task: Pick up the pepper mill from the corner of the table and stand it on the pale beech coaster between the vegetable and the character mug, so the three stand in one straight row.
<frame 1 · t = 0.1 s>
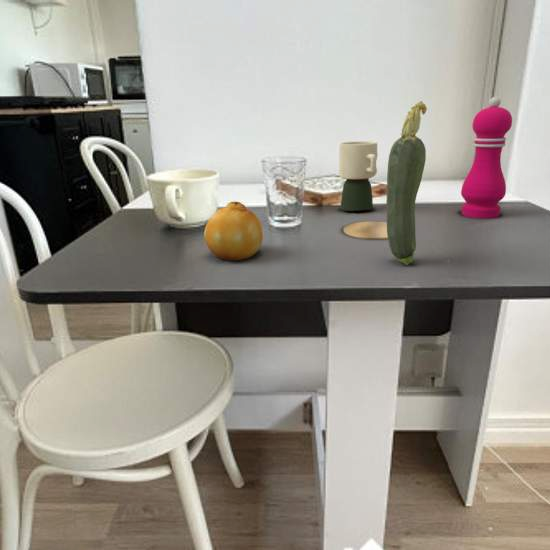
pepper mill: (479, 216, 80), on the table
character mug: (356, 212, 87), on the table
coaster: (374, 231, 72), on the table
fruit: (235, 257, 64), on the table
vegetable: (399, 264, 58), on the table
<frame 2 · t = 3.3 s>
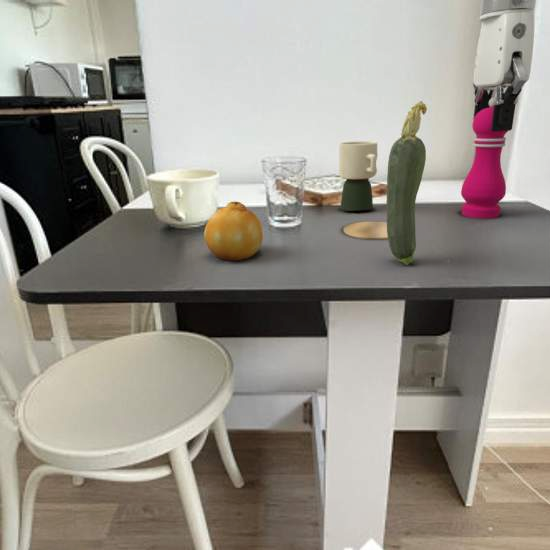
hand: (491, 128, 74), 15 cm above the table, tool pointing down, fingers closed on pepper mill, 6 cm apart
pepper mill: (479, 216, 80), on the table, touching gripper
everything else where it was.
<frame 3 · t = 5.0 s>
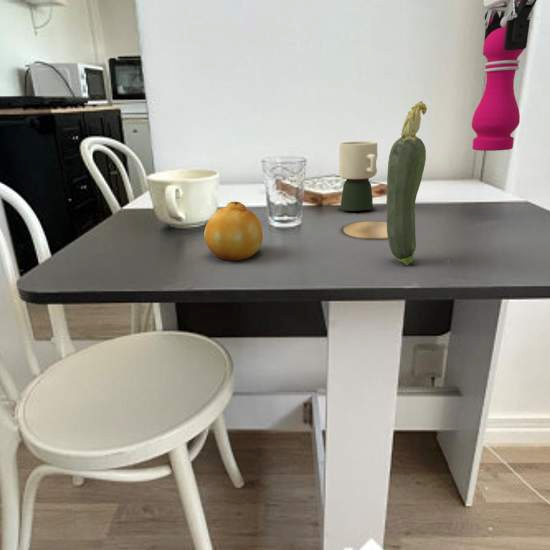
hand: (503, 51, 70), 27 cm above the table, tool pointing down, fingers closed on pepper mill, 6 cm apart
pepper mill: (491, 150, 75), point 11 cm above the table, touching gripper
everything else where it was.
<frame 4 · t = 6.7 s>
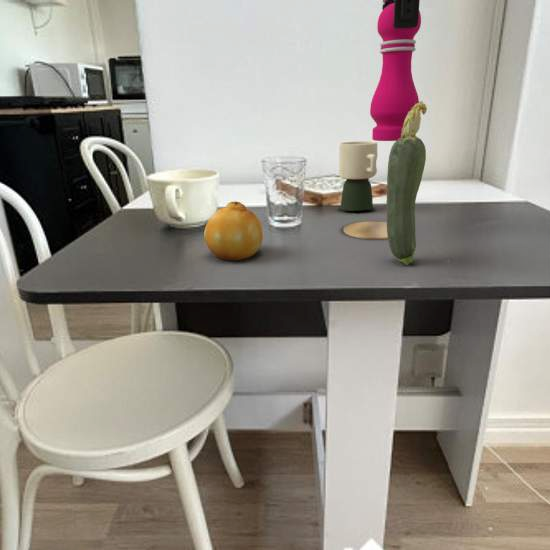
hand: (398, 30, 63), 29 cm above the table, tool pointing down, fingers closed on pepper mill, 6 cm apart
pepper mill: (392, 140, 68), point 14 cm above the table, touching gripper
everything else where it was.
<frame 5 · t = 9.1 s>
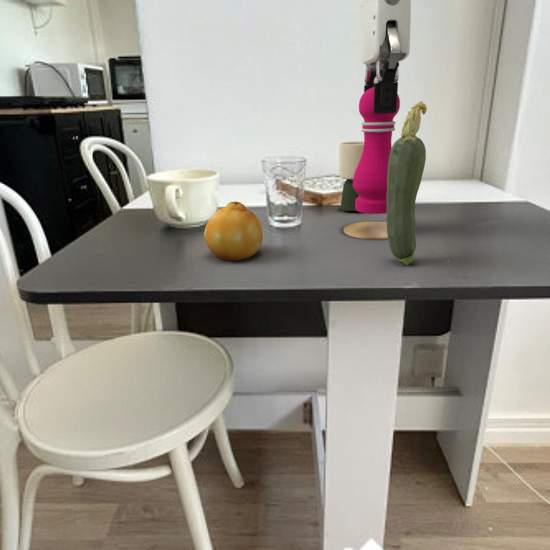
hand: (379, 111, 66), 19 cm above the table, tool pointing down, fingers closed on pepper mill, 6 cm apart
pepper mill: (374, 210, 71), point 4 cm above the table, touching gripper
everything else where it was.
when the fingers open (15 cm above the table, at t = 10.5 s): pepper mill stays where it is, resting on coaster.
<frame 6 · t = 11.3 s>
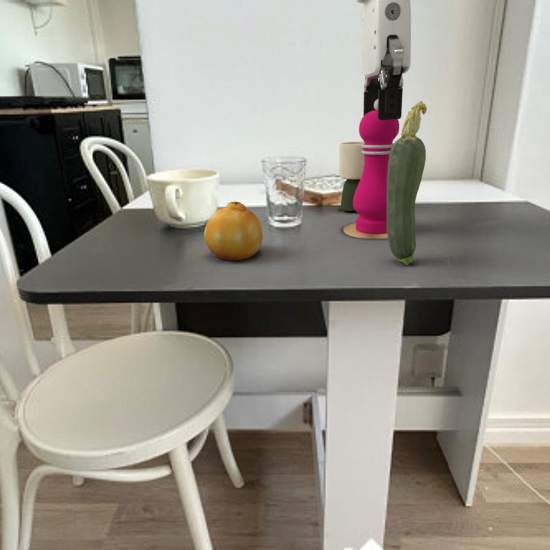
hand: (380, 118, 66), 18 cm above the table, tool pointing down, fingers open, 9 cm apart
pepper mill: (374, 230, 72), resting on coaster
everything else where it was.
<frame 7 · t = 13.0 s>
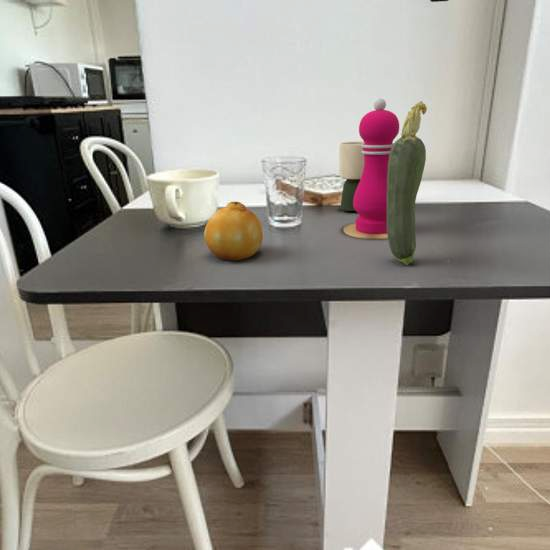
nothing on the table moved.
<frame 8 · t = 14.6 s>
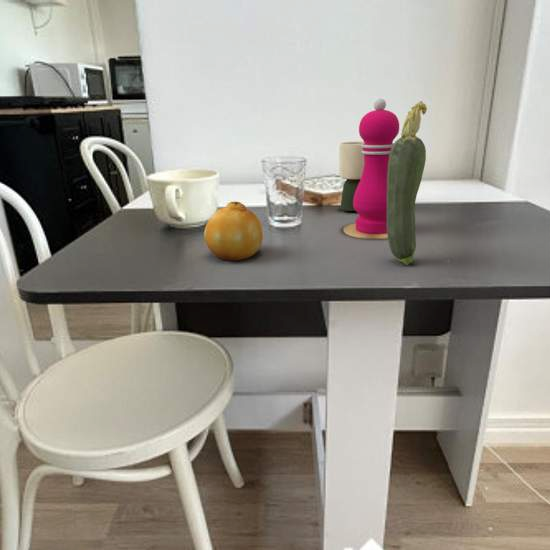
nothing on the table moved.
at the end: pepper mill 0.1 cm off-centre on the coaster, point 0.3 cm above the coaster's base; pepper mill tilted 0°; vegetable moved 0.2 cm from its start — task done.
